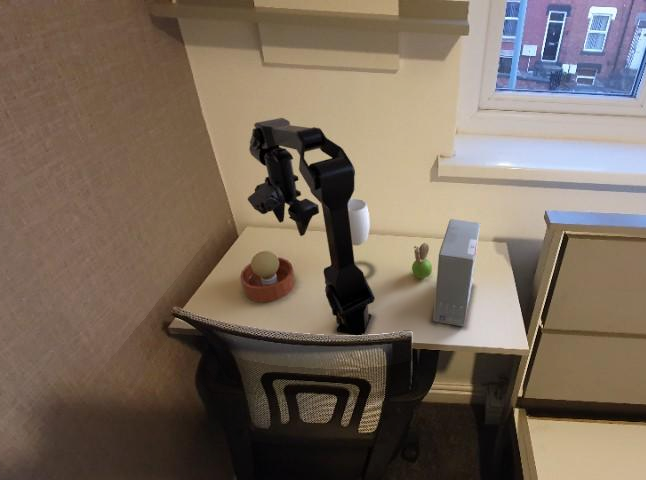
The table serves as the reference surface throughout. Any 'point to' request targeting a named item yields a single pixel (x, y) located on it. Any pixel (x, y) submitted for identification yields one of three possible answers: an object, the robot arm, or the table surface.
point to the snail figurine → (421, 262)
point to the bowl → (272, 292)
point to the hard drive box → (456, 272)
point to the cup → (358, 221)
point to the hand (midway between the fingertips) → (291, 228)
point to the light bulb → (265, 267)
